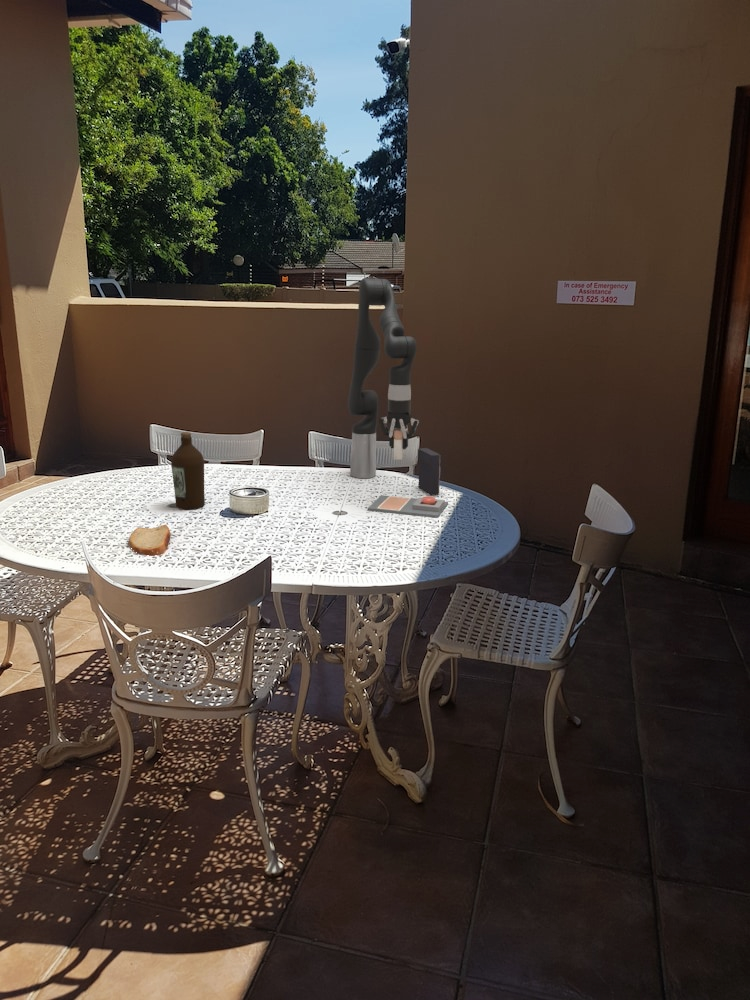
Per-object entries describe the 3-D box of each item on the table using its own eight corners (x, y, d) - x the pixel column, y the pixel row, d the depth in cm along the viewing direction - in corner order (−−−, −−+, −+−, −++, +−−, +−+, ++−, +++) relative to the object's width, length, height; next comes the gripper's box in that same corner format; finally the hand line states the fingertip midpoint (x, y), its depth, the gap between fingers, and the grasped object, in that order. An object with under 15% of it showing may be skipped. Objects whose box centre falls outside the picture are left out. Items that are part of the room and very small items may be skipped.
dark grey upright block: (440, 494, 268) (442, 454, 263) (429, 496, 266) (431, 455, 262) (427, 486, 278) (428, 447, 273) (416, 488, 276) (417, 448, 272)
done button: (420, 505, 249) (420, 499, 249) (423, 501, 253) (424, 496, 253) (433, 506, 248) (433, 500, 248) (436, 502, 252) (436, 497, 252)
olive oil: (194, 499, 259) (190, 428, 252) (212, 505, 252) (208, 433, 245) (168, 505, 252) (162, 433, 244) (185, 512, 245) (180, 437, 237)
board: (367, 510, 249) (367, 503, 249) (381, 497, 264) (381, 490, 263) (437, 517, 243) (438, 510, 242) (448, 504, 257) (448, 497, 257)
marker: (391, 459, 253) (392, 430, 250) (394, 457, 256) (395, 428, 253) (402, 460, 252) (402, 431, 249) (404, 458, 255) (405, 429, 252)
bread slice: (154, 559, 206) (153, 546, 205) (107, 547, 214) (106, 535, 213) (198, 539, 221) (197, 527, 220) (153, 529, 230) (152, 518, 228)
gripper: (422, 397, 249) (421, 447, 254) (382, 394, 253) (381, 444, 258) (417, 400, 242) (416, 452, 247) (375, 398, 246) (375, 449, 251)
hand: (398, 448), depth 253 cm, fingers closed on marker, 3 cm apart
